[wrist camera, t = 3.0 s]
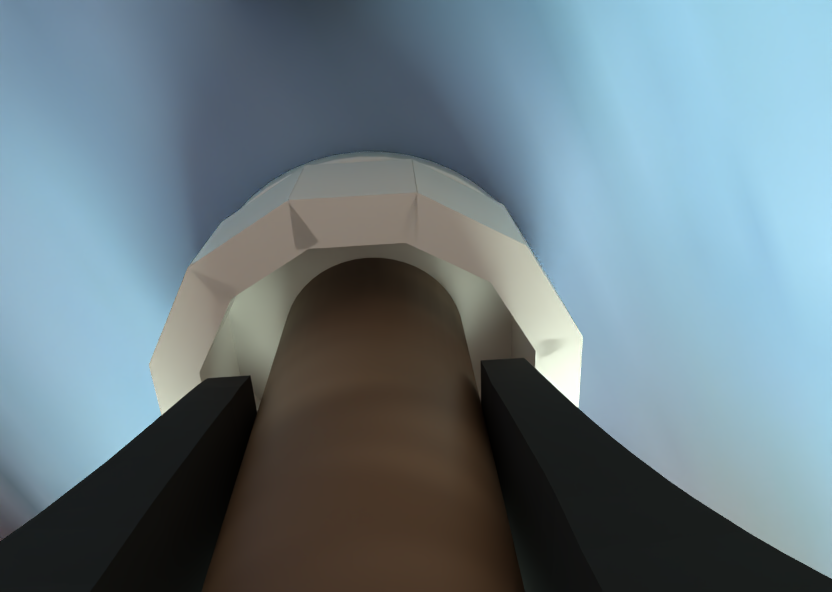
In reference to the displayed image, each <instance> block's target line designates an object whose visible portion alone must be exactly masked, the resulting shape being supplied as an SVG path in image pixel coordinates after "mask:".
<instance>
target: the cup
mask: <svg viewBox="0 0 832 592" xmlns="http://www.w3.org/2000/svg"><path fill="white" fill-rule="evenodd" d="M361 258H387V259H393V260H397V261H401V262H405V263H408V264H410V265H413V266H415V267H417V268H419V269H421V270H423V271H425V272H426V273H428V274H429V275H430V276H432V277H433V278H435V279H436V280H437V281H438V282H439V283H440V284H441V285H442V286H443V287H444V288H445V289H446V291H447V292H448V293H449V294H450V296H451V297H452V299H453V301H454V302H455V304H456V306H457V308H458V311H459V313H460V316H461V320H462V324H463V328H464V333H465V337H466V341H467V346H468V350H469V354H470V358H471V363H472V367H473V371H474V375H475V380H476V384H477V388H478V393H479V397H480V401H481V360H496V359H511V358H525V359H526V360H527V361H528V362H529V363H530V364H531V365H532V366H533V367H535V368H536V369H537V370H538V371H539V372H540V373H541V374H542V375H543V376H544V377H545V378H546V379H547V380H548V381H549V382H551V383H552V384H553V385H554V386H555V387H556V388H557V389H558V390H559V391H560V392H561V393H562V394H563V395H564V396H565V397H567V398H568V399H569V400H570V401H571V402H572V403H573V404H574V405H575V406H576V407H577V408H578V407H579V391H580V375H581V359H582V343H583V337H582V334H581V333H580V331H579V329H578V328H577V326H576V324H575V322H574V321H573V319H572V317H571V316H570V314H569V312H568V310H567V309H566V307H565V305H564V304H563V302H562V300H561V298H560V297H559V295H558V293H557V292H556V290H555V288H554V286H553V285H552V283H551V281H550V280H549V278H548V277H547V275H546V273H545V272H544V270H543V268H542V267H541V265H540V263H539V262H538V260H537V259H536V257H535V255H534V254H533V252H532V250H531V249H530V247H529V245H528V244H527V242H526V240H525V239H524V237H523V235H522V233H521V232H520V230H519V229H518V227H517V226H516V224H515V223H514V221H513V219H512V218H511V216H510V214H509V213H508V211H507V209H506V208H505V206H504V205H503V204H501V203H499V202H497V201H496V200H495V199H494V198H493V197H492V196H490V195H489V194H488V193H487V192H485V191H484V190H483V189H482V188H480V187H479V186H478V185H477V184H475V183H474V182H472V181H471V180H469V179H467V178H466V177H464V176H462V175H460V174H459V173H457V172H455V171H454V170H451V169H449V168H447V167H444V166H442V165H439V164H437V163H435V162H432V161H429V160H425V159H422V158H418V157H414V156H411V155H405V154H398V153H391V152H352V153H344V154H336V155H332V156H329V157H325V158H321V159H317V160H313V161H311V162H308V163H306V164H303V165H301V166H299V167H296V168H294V169H291V170H289V171H288V172H286V173H284V174H283V175H281V176H279V177H277V178H276V179H274V180H272V181H271V182H269V183H268V184H267V185H265V186H264V187H263V188H262V189H260V190H259V191H258V192H257V193H255V194H254V195H253V196H252V197H251V198H250V199H249V200H248V201H247V202H246V203H245V204H244V205H243V206H242V207H241V208H240V209H239V210H238V211H237V212H235V213H234V214H232V215H231V216H229V217H228V218H227V219H225V220H224V221H222V222H221V223H220V225H219V226H218V227H217V229H216V230H215V231H214V233H213V234H212V235H211V237H210V238H209V239H208V241H207V242H206V244H205V245H204V246H203V248H202V249H201V250H200V252H199V253H198V254H197V256H196V257H195V258H194V260H193V261H192V262H191V264H190V265H189V267H188V268H187V271H186V273H185V276H184V278H183V281H182V283H181V286H180V288H179V291H178V293H177V296H176V298H175V301H174V303H173V306H172V308H171V311H170V313H169V316H168V318H167V321H166V323H165V326H164V328H163V331H162V333H161V336H160V338H159V341H158V343H157V346H156V348H155V351H154V353H153V356H152V358H151V361H150V363H149V368H150V371H151V375H152V379H153V383H154V387H155V391H156V395H157V399H158V403H159V407H160V411H161V415H163V414H164V413H165V412H166V411H167V410H168V409H170V408H171V407H172V406H173V405H174V404H175V403H177V402H178V401H179V400H180V399H181V398H182V397H184V396H185V395H186V394H187V393H188V392H190V391H191V390H192V389H193V388H195V387H196V386H197V385H198V384H200V383H201V382H202V381H204V380H205V379H207V378H217V377H232V376H248V375H251V381H252V386H253V392H254V397H255V403H256V409H257V412H258V409H259V405H260V402H261V399H262V396H263V393H264V389H265V386H266V383H267V380H268V377H269V373H270V370H271V367H272V364H273V361H274V357H275V354H276V351H277V348H278V345H279V342H280V338H281V335H282V332H283V329H284V326H285V322H286V319H287V316H288V313H289V311H290V308H291V306H292V304H293V302H294V300H295V299H296V297H297V295H298V294H299V293H300V292H301V290H302V289H303V288H304V287H305V286H306V285H307V284H308V283H309V282H310V281H311V280H312V279H313V278H314V277H316V276H317V275H319V274H320V273H321V272H323V271H325V270H327V269H329V268H330V267H332V266H335V265H337V264H340V263H343V262H346V261H350V260H354V259H361Z"/></svg>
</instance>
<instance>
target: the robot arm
mask: <svg viewBox="0 0 832 592" xmlns="http://www.w3.org/2000/svg"><path fill="white" fill-rule="evenodd" d="M481 406H482V410H483V414H484V419H485V423H486V427H487V431H488V436H489V440H490V444H491V448H492V453H493V457H494V461H495V465H496V469H497V474H498V478H499V482H500V487H501V491H502V495H503V499H504V504H505V508H506V512H507V517H508V521H509V525H510V529H511V534H512V538H513V542H514V546H515V551H516V555H517V559H518V564H519V568H520V572H521V576H522V581H523V585H524V589H525V592H832V579H831V578H829V577H827V576H825V575H823V574H821V573H820V572H818V571H816V570H814V569H812V568H810V567H808V566H807V565H805V564H803V563H801V562H799V561H797V560H795V559H794V558H792V557H790V556H788V555H786V554H784V553H782V552H781V551H779V550H777V549H776V548H774V547H772V546H770V545H769V544H767V543H765V542H763V541H762V540H760V539H758V538H757V537H755V536H753V535H751V534H750V533H748V532H746V531H745V530H743V529H742V528H740V527H739V526H737V525H735V524H734V523H732V522H731V521H729V520H728V519H726V518H724V517H723V516H721V515H720V514H718V513H716V512H715V511H713V510H712V509H710V508H709V507H707V506H705V505H704V504H702V503H701V502H699V501H698V500H696V499H694V498H693V497H692V496H690V495H689V494H687V493H686V492H684V491H683V490H681V489H680V488H678V487H677V486H675V485H674V484H673V483H671V482H670V481H668V480H667V479H666V478H664V477H663V476H662V475H660V474H659V473H658V472H656V471H655V470H654V469H652V468H651V467H650V466H648V465H647V464H646V463H644V462H643V461H642V460H640V459H639V458H638V457H636V456H635V455H634V454H632V453H631V452H630V451H628V450H627V449H626V448H625V447H623V446H622V445H621V444H620V443H618V442H617V441H616V440H615V439H613V438H612V437H611V436H610V435H609V434H607V433H606V432H605V431H604V430H603V429H602V428H600V427H599V426H598V425H597V424H596V423H594V422H593V421H592V420H591V419H590V418H589V417H588V416H586V415H585V414H584V413H583V412H582V411H581V410H580V409H579V408H577V407H576V406H575V405H574V404H573V403H572V402H571V401H570V400H569V399H568V398H567V397H565V396H564V395H563V394H562V393H561V392H560V391H559V390H558V389H557V388H556V387H555V386H554V385H553V384H552V383H551V382H549V381H548V380H547V379H546V378H545V377H544V376H543V375H542V374H541V373H540V372H539V371H538V370H537V369H536V368H535V367H533V366H532V365H531V364H530V363H529V362H528V361H527V360H526V359H525V358H511V359H496V360H481ZM256 415H257V409H256V403H255V397H254V392H253V386H252V381H251V375H248V376H232V377H217V378H207V379H205V380H204V381H202V382H201V383H200V384H198V385H197V386H196V387H195V388H193V389H192V390H191V391H190V392H188V393H187V394H186V395H185V396H184V397H182V398H181V399H180V400H179V401H178V402H177V403H175V404H174V405H173V406H172V407H171V408H170V409H168V410H167V411H166V412H165V413H164V414H163V415H161V416H160V417H159V418H158V419H157V420H156V421H154V422H153V423H152V424H151V425H150V426H148V427H147V428H146V429H145V430H144V431H143V432H141V433H140V434H139V435H138V436H137V437H135V438H134V439H133V440H132V441H131V442H129V443H128V444H127V445H126V446H125V447H123V448H122V449H121V450H120V451H119V452H118V453H116V454H115V455H114V456H113V457H112V458H110V459H109V460H108V461H107V462H105V463H104V464H103V465H102V466H100V467H99V468H98V469H97V470H95V471H94V472H93V473H91V474H90V475H89V476H87V477H86V478H85V479H84V480H82V481H81V482H80V483H78V484H77V485H76V486H74V487H73V488H72V489H71V490H69V491H68V492H67V493H65V494H64V495H63V496H61V497H60V498H59V499H58V500H56V501H55V502H54V503H52V504H51V505H50V506H48V507H47V508H46V509H45V510H43V511H42V512H41V513H39V514H38V515H37V516H35V517H34V518H33V519H31V520H30V521H28V522H27V523H26V524H24V525H23V526H21V527H20V528H19V529H17V530H16V531H14V532H13V533H12V534H10V535H9V536H7V537H6V538H4V539H3V540H1V541H0V592H201V591H202V587H203V584H204V581H205V578H206V575H207V571H208V568H209V565H210V562H211V559H212V555H213V552H214V549H215V546H216V543H217V540H218V536H219V533H220V530H221V527H222V524H223V520H224V517H225V514H226V511H227V508H228V504H229V501H230V498H231V495H232V492H233V488H234V485H235V482H236V479H237V476H238V472H239V469H240V466H241V463H242V460H243V456H244V453H245V450H246V447H247V444H248V441H249V437H250V434H251V431H252V428H253V425H254V421H255V418H256Z"/></svg>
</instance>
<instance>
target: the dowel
mask: <svg viewBox="0 0 832 592" xmlns="http://www.w3.org/2000/svg"><path fill="white" fill-rule="evenodd" d="M201 592H525V589H524V585H523V581H522V576H521V572H520V568H519V564H518V559H517V555H516V551H515V546H514V542H513V538H512V534H511V529H510V525H509V521H508V517H507V512H506V508H505V504H504V499H503V495H502V491H501V487H500V482H499V478H498V474H497V469H496V465H495V461H494V457H493V453H492V448H491V444H490V440H489V436H488V431H487V427H486V423H485V419H484V414H483V410H482V406H481V401H480V397H479V393H478V388H477V384H476V380H475V375H474V371H473V367H472V363H471V358H470V354H469V350H468V346H467V341H466V337H465V333H464V328H463V324H462V320H461V316H460V313H459V311H458V308H457V306H456V304H455V302H454V301H453V299H452V297H451V296H450V294H449V293H448V292H447V291H446V289H445V288H444V287H443V286H442V285H441V284H440V283H439V282H438V281H437V280H436V279H435V278H433V277H432V276H430V275H429V274H428V273H426V272H425V271H423V270H421V269H419V268H417V267H415V266H413V265H410V264H408V263H405V262H401V261H397V260H393V259H387V258H361V259H354V260H350V261H346V262H343V263H340V264H337V265H335V266H332V267H330V268H329V269H327V270H325V271H323V272H321V273H320V274H319V275H317V276H316V277H314V278H313V279H312V280H311V281H310V282H309V283H308V284H307V285H306V286H305V287H304V288H303V289H302V290H301V292H300V293H299V294H298V295H297V297H296V299H295V300H294V302H293V304H292V306H291V308H290V311H289V313H288V316H287V319H286V322H285V326H284V329H283V332H282V335H281V338H280V342H279V345H278V348H277V351H276V354H275V357H274V361H273V364H272V367H271V370H270V373H269V377H268V380H267V383H266V386H265V389H264V393H263V396H262V399H261V402H260V405H259V409H258V412H257V415H256V418H255V421H254V425H253V428H252V431H251V434H250V437H249V441H248V444H247V447H246V450H245V453H244V456H243V460H242V463H241V466H240V469H239V472H238V476H237V479H236V482H235V485H234V488H233V492H232V495H231V498H230V501H229V504H228V508H227V511H226V514H225V517H224V520H223V524H222V527H221V530H220V533H219V536H218V540H217V543H216V546H215V549H214V552H213V555H212V559H211V562H210V565H209V568H208V571H207V575H206V578H205V581H204V584H203V587H202V591H201Z"/></svg>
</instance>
